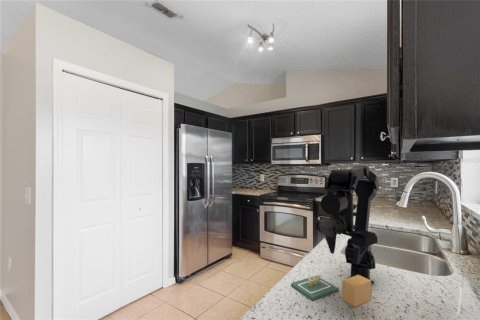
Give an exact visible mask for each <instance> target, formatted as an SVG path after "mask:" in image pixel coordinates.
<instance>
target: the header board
mask: <svg viewBox="0 0 480 320" xmlns="http://www.w3.org/2000/svg"><path fill="white" fill-rule="evenodd" d="M290 287H292V288H293V289H295V291H297V292H298V293H300V294H301V295H303V296H305V298H307V299H309V300H310V301H311V302H314V301H317V300H318V299H321V298H325V297H328V296H330V295H333V294H335V293H338V292H339V287H337V286H335V285H334V284H331V283H330V282H328V281H326V280H324V279H323V278H321V276H320V274H317V275H313V276H310V277H307V278H304V279H299V280H298V281H294V282H291V283H290Z"/></svg>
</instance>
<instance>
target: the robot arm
mask: <svg viewBox="0 0 480 320" xmlns="http://www.w3.org/2000/svg"><path fill="white" fill-rule="evenodd" d="M379 189H380V182H379V179H378V176H377V175H376V173H374V172H372V170H370V168H369V166H366V165H355V166H353V167H351V168H347V169H343V168H342V169H341V168H340V169H338V168H336V169H335V168H334V169H332V170H331V171H330V173H329V174H328V177H327V181H326V184H325V189H324V190H325V192H326V195H324V196H322V198H321V200H320V208H321V209H322V211H323V212H325V214H327V215H329V217H327V218H326V219H321V220H317V221H316V223H315V230H317V231H318V233H319V234H321V235H322V236H324V239H325V241H326V243H327V244H326V245H327V246H328V249H329V252H330V254H335V250H336V242H337V235H339V236H340V235H345V236H348V237H350V238H348V239H347V242H346V246H345V249H344V257H345V262H346V264H350V276H349V277H347V278H350V277H353V276H356V275H360V276H362V277H365V278H367V279H369V280H371V274H370V273H371V271H372V270H373V269H374V270H375V269H376V259H375V256H374V254H373V251H372V246H373V245H375V244H379V243H378V242H379V241H378V235H377V234H376V233H375V232H373V231H369V224H370V223H369V222H370V215H371V214H370V213H371V206H372V201H373V199H374V198H375V197H376V196H377V194H378V193H377V192H378V190H379ZM354 193H355V195H356V197H357V201H356V211H354ZM354 217H355V218H354ZM354 219H355V220H354ZM373 284H375V281H374V280H371V285H373Z"/></svg>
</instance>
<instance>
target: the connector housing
mask: <svg viewBox="0 0 480 320" xmlns="http://www.w3.org/2000/svg"><path fill="white" fill-rule="evenodd" d="M349 277H350V278H348V277H347V278H344V279H342V280H341V282H342V283H341V286H342V287H341V291H342V292H341V294H342V295H341V297H342V298H341V299H342V300H343V301H344V302H346V303H347V304H349V305H351V306H352V307H354V308H356V307H358V306H361V305H364V304H365V303H367V302H370V301H372V284H371V279H370V280H369V279H367V278H365V277H362V276H360V275H356V276H353V277H351V276H349Z"/></svg>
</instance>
